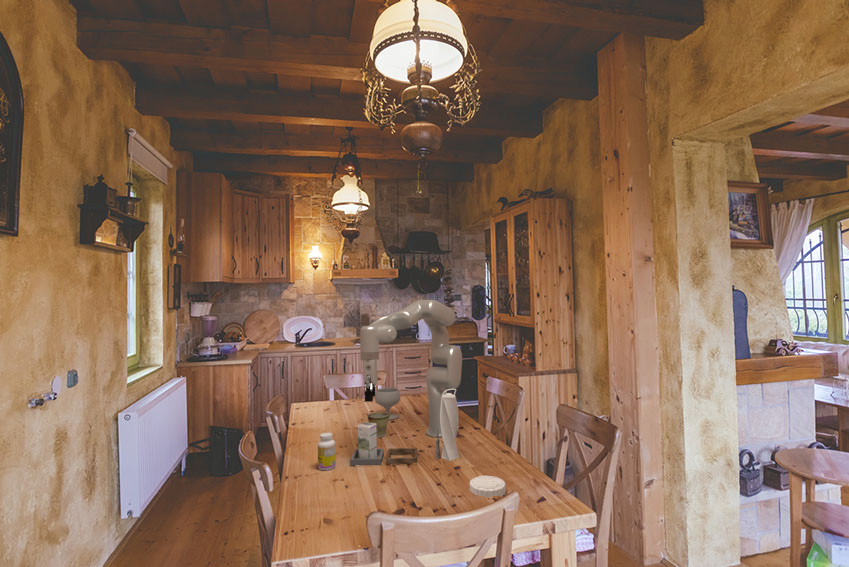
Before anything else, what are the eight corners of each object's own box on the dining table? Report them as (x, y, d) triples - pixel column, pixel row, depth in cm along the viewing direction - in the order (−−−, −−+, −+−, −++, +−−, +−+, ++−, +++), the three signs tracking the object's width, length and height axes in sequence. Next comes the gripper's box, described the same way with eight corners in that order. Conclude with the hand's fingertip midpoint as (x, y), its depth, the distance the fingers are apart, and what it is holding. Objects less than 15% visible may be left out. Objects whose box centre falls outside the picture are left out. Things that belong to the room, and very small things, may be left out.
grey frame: (383, 454, 184) (383, 448, 184) (381, 465, 172) (381, 459, 172) (355, 455, 184) (355, 449, 184) (350, 466, 172) (350, 459, 172)
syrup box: (377, 458, 179) (376, 422, 180) (369, 463, 174) (369, 426, 174) (365, 456, 182) (365, 421, 182) (357, 461, 176) (357, 425, 177)
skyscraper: (449, 454, 183) (447, 387, 184) (464, 459, 177) (462, 389, 178) (434, 460, 177) (433, 390, 178) (449, 465, 171) (448, 393, 172)
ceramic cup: (379, 440, 202) (378, 418, 203) (363, 436, 209) (363, 415, 209) (397, 433, 213) (397, 412, 213) (382, 429, 219) (381, 409, 219)
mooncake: (481, 503, 139) (481, 491, 139) (463, 488, 150) (462, 478, 150) (513, 495, 144) (512, 484, 144) (493, 482, 155) (492, 471, 155)
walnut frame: (417, 453, 184) (417, 447, 184) (416, 464, 172) (416, 458, 172) (388, 454, 184) (388, 448, 184) (386, 465, 172) (386, 458, 172)
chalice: (399, 420, 235) (399, 392, 235) (373, 421, 235) (373, 392, 235) (401, 413, 249) (401, 387, 249) (376, 414, 249) (376, 387, 249)
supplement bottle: (316, 466, 172) (316, 433, 173) (333, 463, 175) (333, 430, 175) (319, 472, 166) (319, 438, 167) (337, 469, 169) (336, 435, 169)
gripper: (377, 358, 171) (377, 403, 170) (380, 353, 188) (381, 394, 187) (357, 359, 170) (358, 403, 170) (363, 354, 188) (363, 394, 187)
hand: (370, 398), depth 178 cm, fingers open, 9 cm apart
